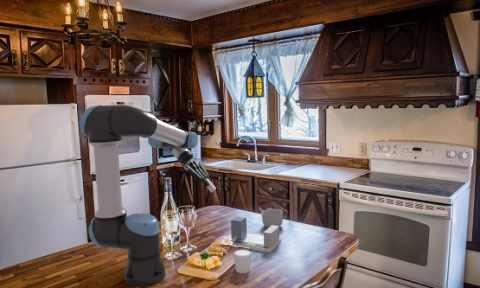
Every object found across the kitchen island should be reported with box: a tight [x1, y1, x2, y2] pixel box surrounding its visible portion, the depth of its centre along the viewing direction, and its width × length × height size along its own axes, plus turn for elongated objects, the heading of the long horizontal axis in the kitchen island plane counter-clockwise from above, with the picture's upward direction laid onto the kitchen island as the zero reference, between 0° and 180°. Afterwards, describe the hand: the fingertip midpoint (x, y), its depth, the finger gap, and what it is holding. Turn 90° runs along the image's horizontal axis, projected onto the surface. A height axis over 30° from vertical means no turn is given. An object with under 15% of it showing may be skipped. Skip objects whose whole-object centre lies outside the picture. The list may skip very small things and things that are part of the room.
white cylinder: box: [233, 248, 252, 274], centre depth 143 cm, size 7×7×7 cm
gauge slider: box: [230, 215, 248, 242], centre depth 170 cm, size 5×10×9 cm, turn 154°
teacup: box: [261, 208, 284, 229], centre depth 192 cm, size 14×11×8 cm
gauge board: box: [227, 225, 282, 254], centre depth 169 cm, size 24×14×8 cm, turn 64°
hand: (213, 190), depth 176 cm, fingers closed
